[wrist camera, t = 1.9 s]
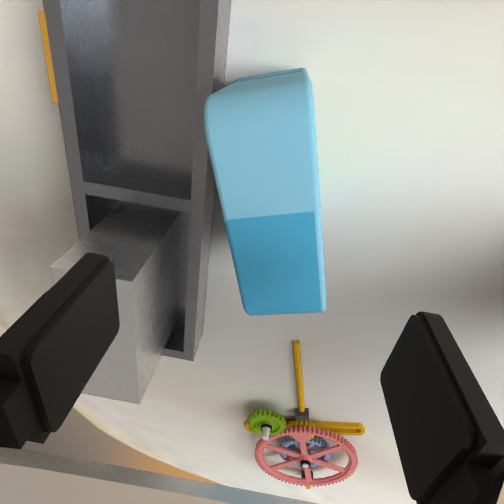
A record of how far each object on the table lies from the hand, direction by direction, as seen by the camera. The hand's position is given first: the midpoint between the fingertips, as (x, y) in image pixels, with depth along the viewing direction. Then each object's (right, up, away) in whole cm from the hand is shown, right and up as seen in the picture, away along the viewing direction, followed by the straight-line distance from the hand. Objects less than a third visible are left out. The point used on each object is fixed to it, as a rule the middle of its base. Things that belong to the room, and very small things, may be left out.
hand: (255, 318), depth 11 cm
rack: (-8, +8, +17) cm, 21 cm away
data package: (+2, +9, +15) cm, 18 cm away
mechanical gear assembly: (+7, -20, +33) cm, 39 cm away
